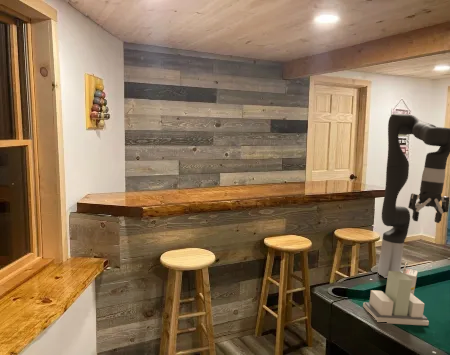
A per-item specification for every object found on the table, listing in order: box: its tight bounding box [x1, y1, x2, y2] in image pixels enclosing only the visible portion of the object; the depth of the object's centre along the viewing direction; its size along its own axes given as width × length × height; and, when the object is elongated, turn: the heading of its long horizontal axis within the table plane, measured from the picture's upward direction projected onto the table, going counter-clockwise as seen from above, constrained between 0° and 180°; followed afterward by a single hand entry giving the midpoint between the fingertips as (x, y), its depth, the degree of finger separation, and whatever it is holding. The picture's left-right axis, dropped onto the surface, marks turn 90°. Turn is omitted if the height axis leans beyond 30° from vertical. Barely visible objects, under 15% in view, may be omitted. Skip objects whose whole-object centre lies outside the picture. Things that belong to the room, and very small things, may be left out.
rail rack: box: [362, 289, 430, 326], centre depth 133 cm, size 12×18×7 cm, turn 92°
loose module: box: [384, 270, 412, 316], centre depth 132 cm, size 8×4×13 cm, turn 2°
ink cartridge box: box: [402, 261, 418, 296], centre depth 147 cm, size 9×5×15 cm, turn 149°
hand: (426, 221), depth 142 cm, fingers open, 8 cm apart
